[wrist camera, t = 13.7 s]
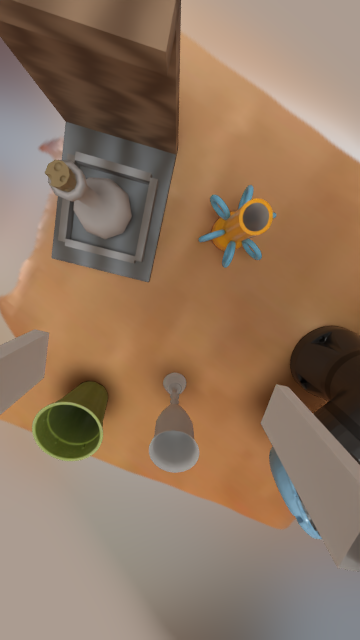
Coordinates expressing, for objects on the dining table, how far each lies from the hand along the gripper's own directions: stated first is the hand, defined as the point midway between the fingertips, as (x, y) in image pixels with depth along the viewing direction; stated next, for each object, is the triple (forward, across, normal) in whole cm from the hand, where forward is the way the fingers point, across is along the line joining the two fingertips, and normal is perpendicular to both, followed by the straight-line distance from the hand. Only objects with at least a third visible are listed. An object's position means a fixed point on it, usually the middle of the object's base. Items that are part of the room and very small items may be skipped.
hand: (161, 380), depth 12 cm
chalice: (+32, -5, +18) cm, 37 cm away
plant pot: (+32, +12, +25) cm, 42 cm away
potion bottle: (+31, +14, -12) cm, 36 cm away
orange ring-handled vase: (+32, -7, -14) cm, 35 cm away
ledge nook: (+31, +14, -13) cm, 37 cm away
